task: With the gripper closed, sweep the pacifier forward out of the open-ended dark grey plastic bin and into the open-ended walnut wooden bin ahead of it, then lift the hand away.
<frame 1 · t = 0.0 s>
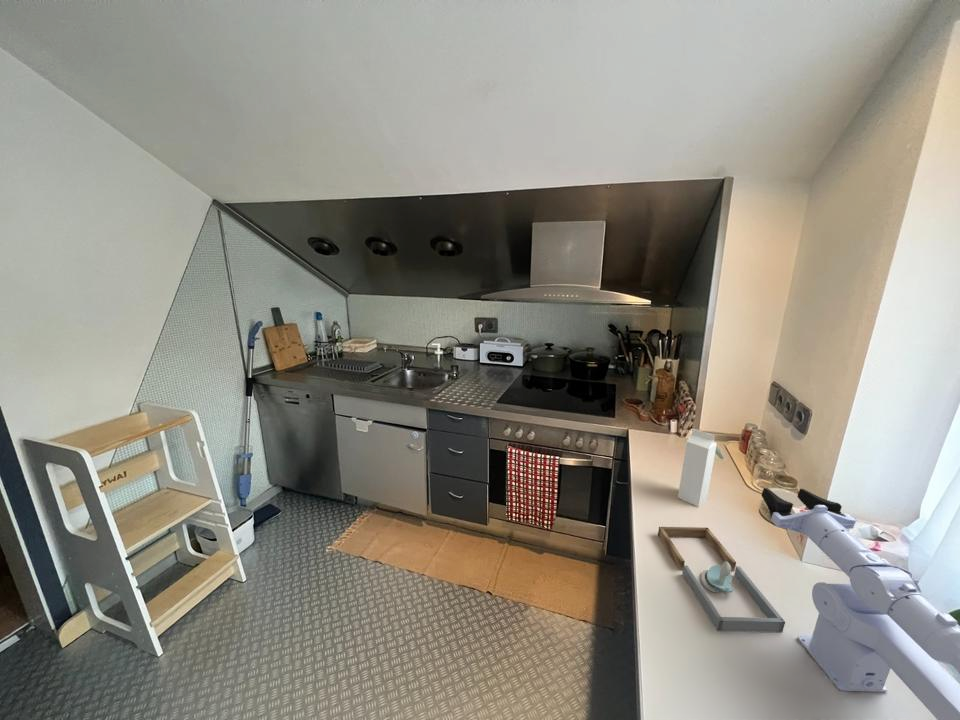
hand: (782, 492, 83), 22 cm above the countertop, tool horizontal, fingers open, 7 cm apart
walnut bin: (693, 552, 95), on the countertop
pacifier: (715, 584, 86), on the countertop
milk: (692, 499, 116), on the countertop
grey bin: (728, 600, 81), on the countertop
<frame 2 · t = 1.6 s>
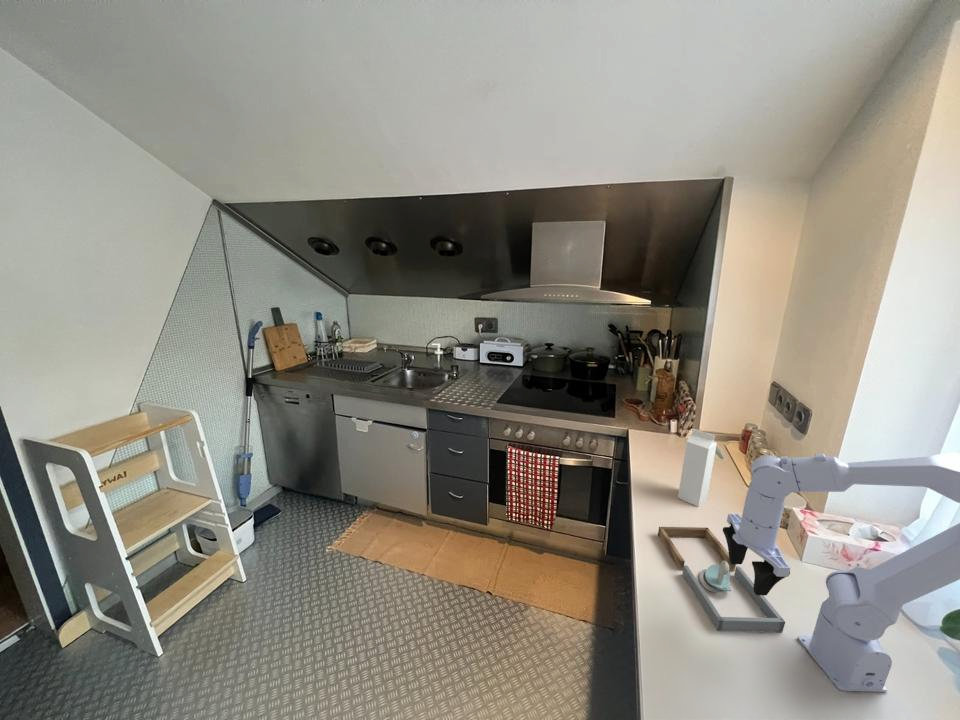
hand: (747, 577, 76), 9 cm above the countertop, tool pointing down, fingers open, 7 cm apart
nothing on the countertop moved.
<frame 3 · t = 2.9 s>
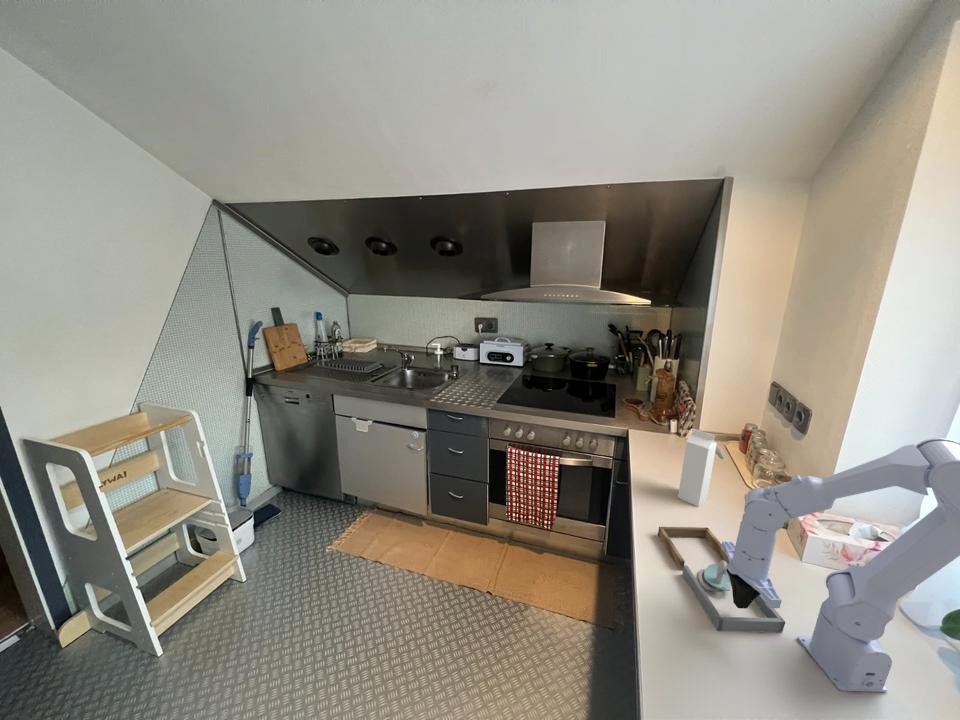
hand: (740, 605, 77), 3 cm above the countertop, tool pointing down, fingers closed
nothing on the countertop moved.
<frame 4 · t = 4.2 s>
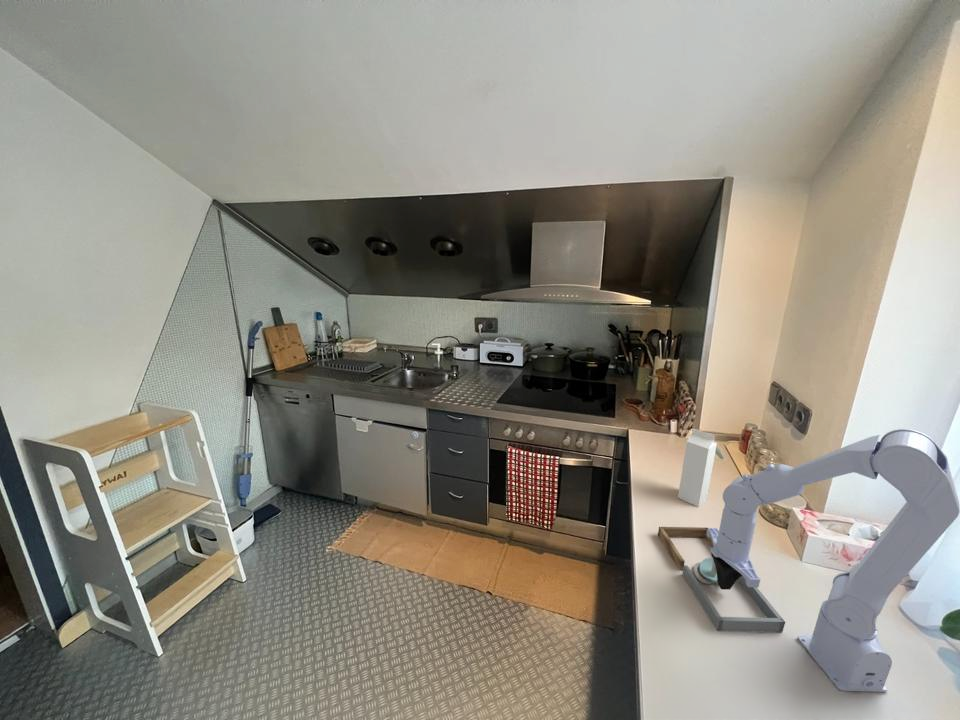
hand: (724, 587, 83), 2 cm above the countertop, tool pointing down, fingers closed
pacifier: (707, 576, 88), on the countertop, touching gripper
everything else where it was.
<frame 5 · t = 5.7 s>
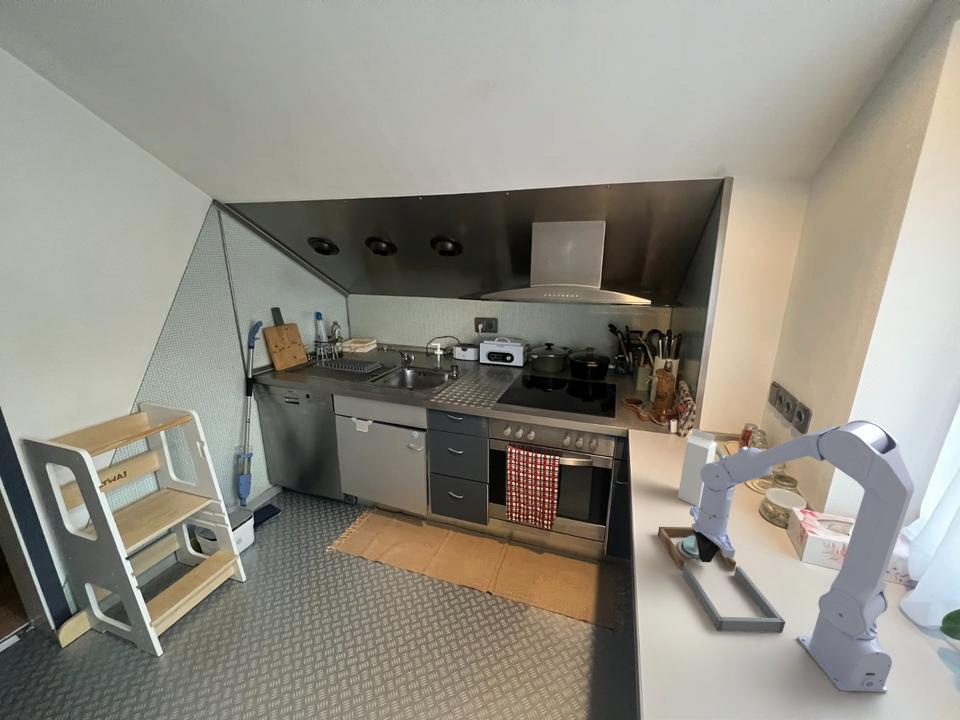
hand: (704, 560, 90), 2 cm above the countertop, tool pointing down, fingers closed
pacifier: (690, 552, 95), on the countertop, touching gripper
everything else where it was.
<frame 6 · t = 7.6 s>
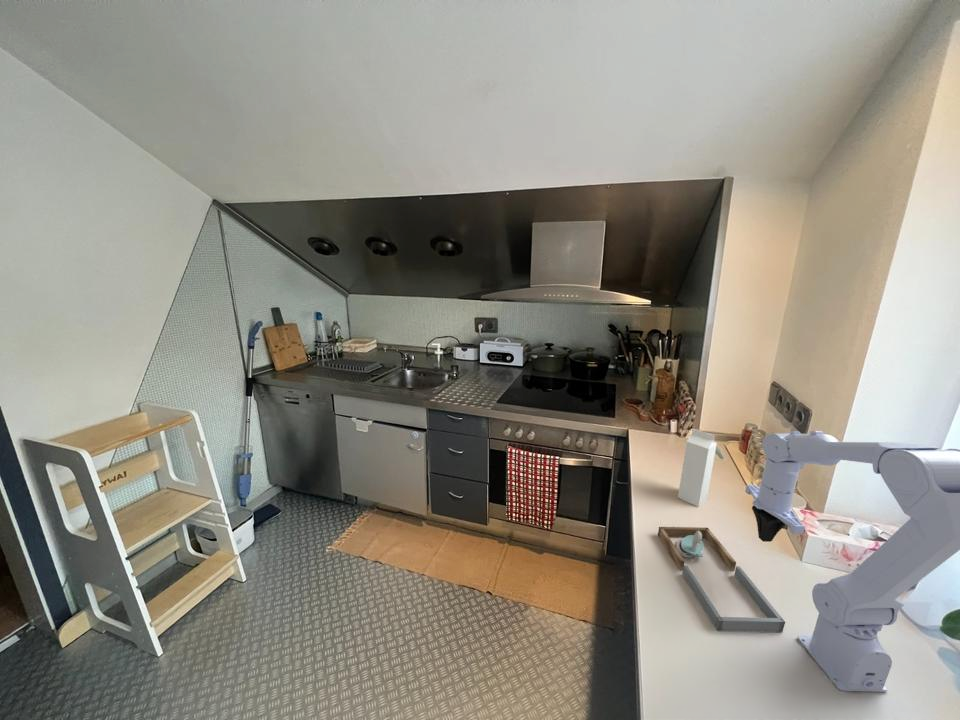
hand: (765, 539, 86), 9 cm above the countertop, tool pointing down, fingers closed
pacifier: (688, 551, 96), on the countertop
everything else where it was.
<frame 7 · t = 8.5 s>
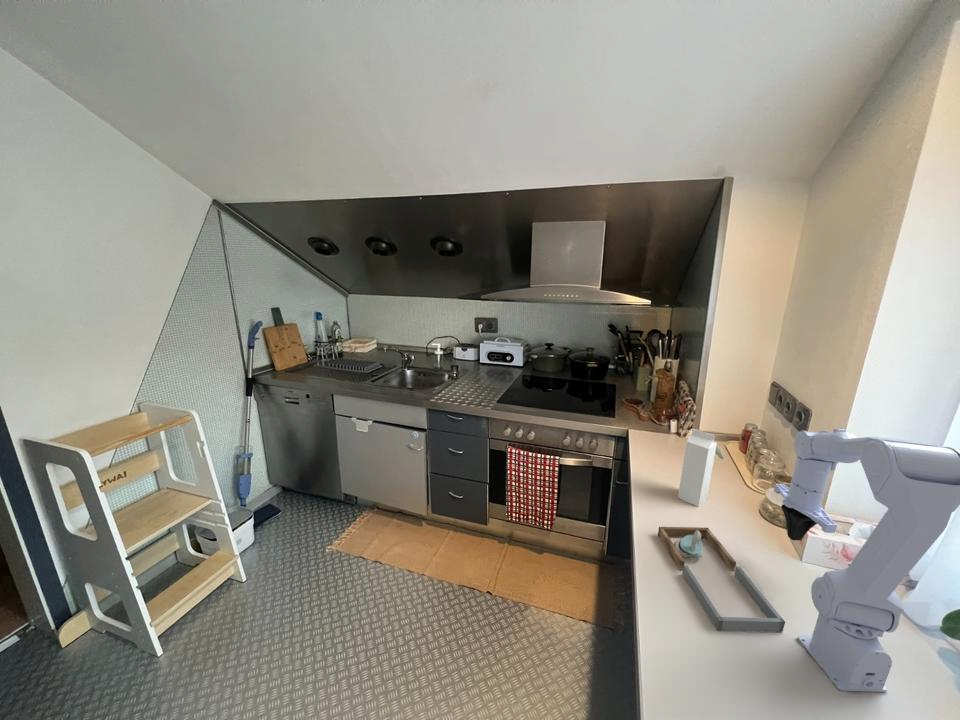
hand: (794, 538, 87), 9 cm above the countertop, tool pointing down, fingers closed
nothing on the countertop moved.
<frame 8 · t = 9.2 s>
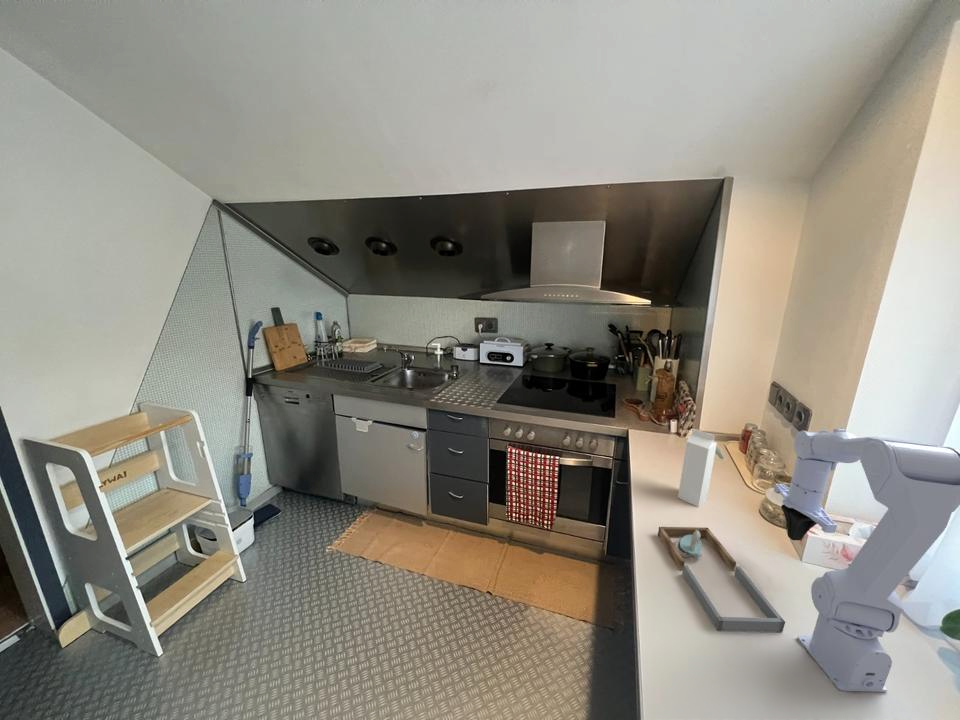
hand: (794, 538, 87), 9 cm above the countertop, tool pointing down, fingers closed
nothing on the countertop moved.
at the end: pacifier inside the target area on the walnut bin (1.5 cm from its centre), point 0.0 cm above the walnut bin's base; the gripper is holding nothing; pacifier moved 10.3 cm from its start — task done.
